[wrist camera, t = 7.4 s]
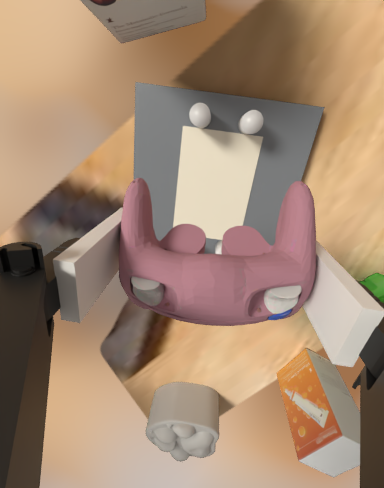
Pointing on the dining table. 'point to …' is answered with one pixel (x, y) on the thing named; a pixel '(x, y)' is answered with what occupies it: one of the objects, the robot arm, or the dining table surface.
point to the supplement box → (145, 16)
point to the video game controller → (218, 264)
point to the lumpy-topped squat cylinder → (184, 420)
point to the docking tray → (219, 158)
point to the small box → (320, 414)
